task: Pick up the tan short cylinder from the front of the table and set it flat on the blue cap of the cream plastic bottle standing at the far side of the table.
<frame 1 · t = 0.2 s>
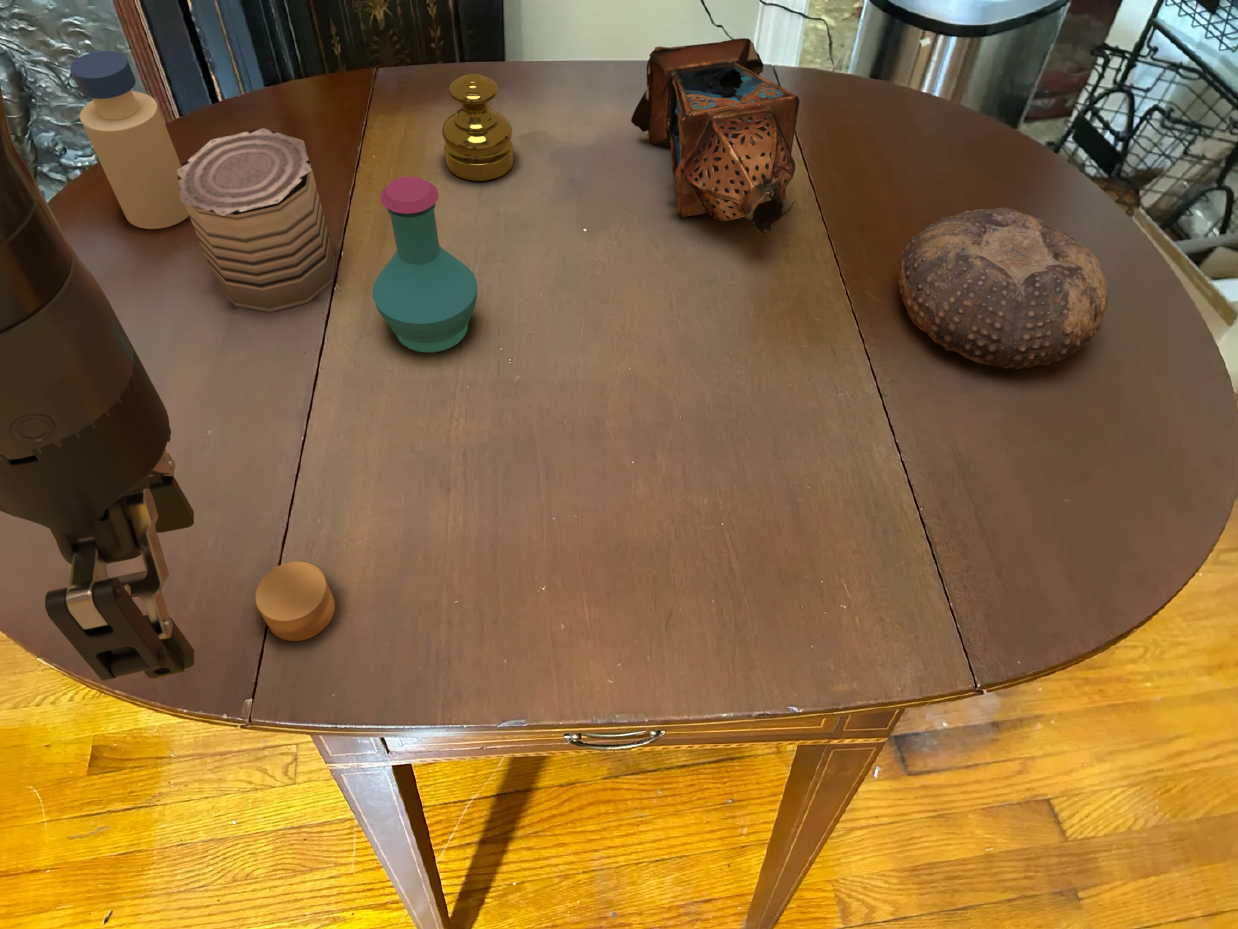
hand: (174, 591, 47), 17 cm above the table, tool pointing down, fingers open, 8 cm apart
tan short cylinder: (301, 611, 66), on the table
perfume bottle: (432, 328, 85), on the table
brass weight: (480, 164, 101), on the table
sea urchin shell: (985, 315, 89), on the table
cream bottle: (160, 208, 94), on the table
lantern: (716, 195, 99), on the table
can: (278, 274, 88), on the table
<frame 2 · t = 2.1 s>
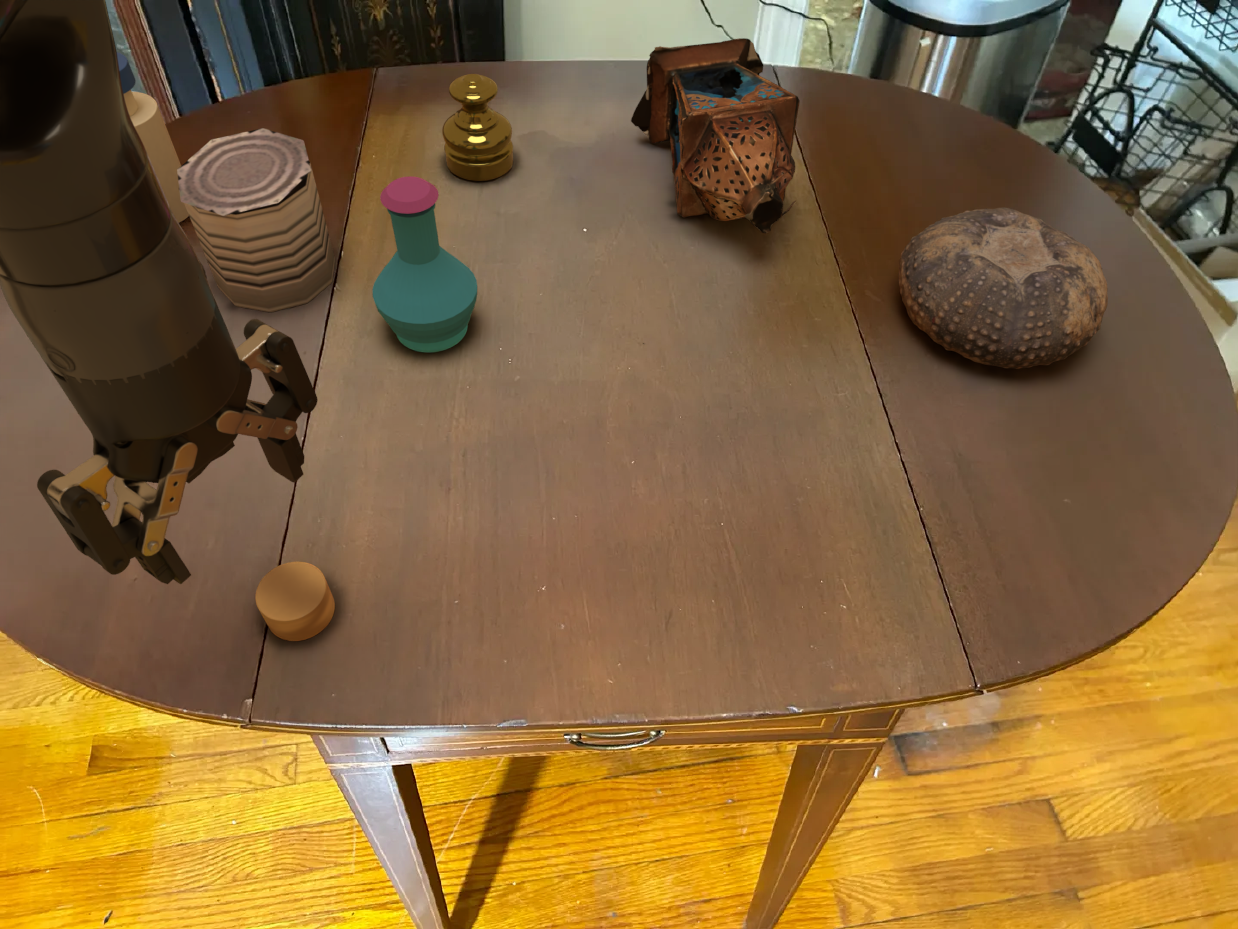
hand: (233, 521, 53), 15 cm above the table, tool pointing down, fingers open, 8 cm apart
nothing on the table moved.
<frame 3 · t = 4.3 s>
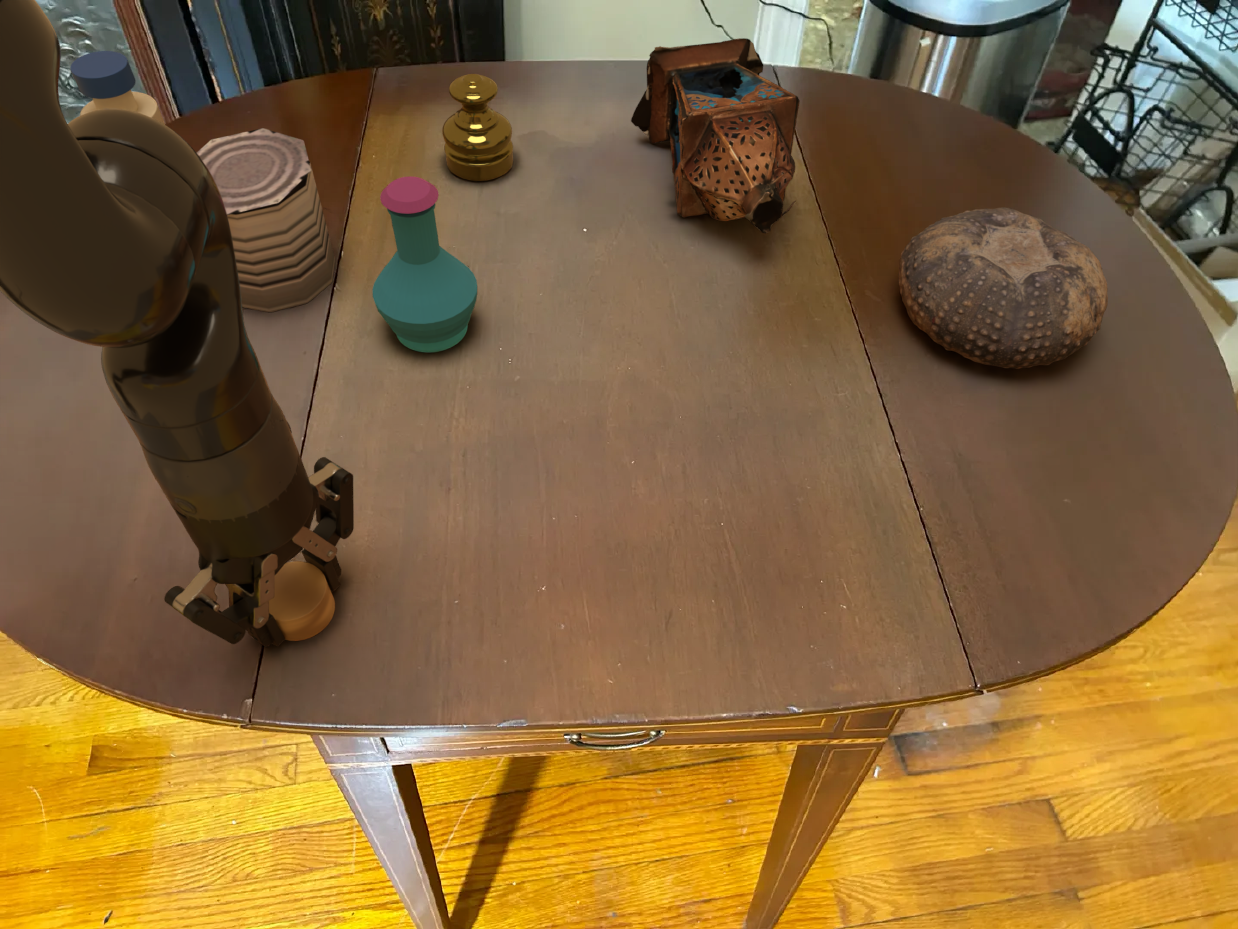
hand: (299, 608, 65), 0 cm above the table, tool pointing down, fingers closed on tan short cylinder, 4 cm apart
tan short cylinder: (301, 611, 66), on the table, touching gripper
everything else where it was.
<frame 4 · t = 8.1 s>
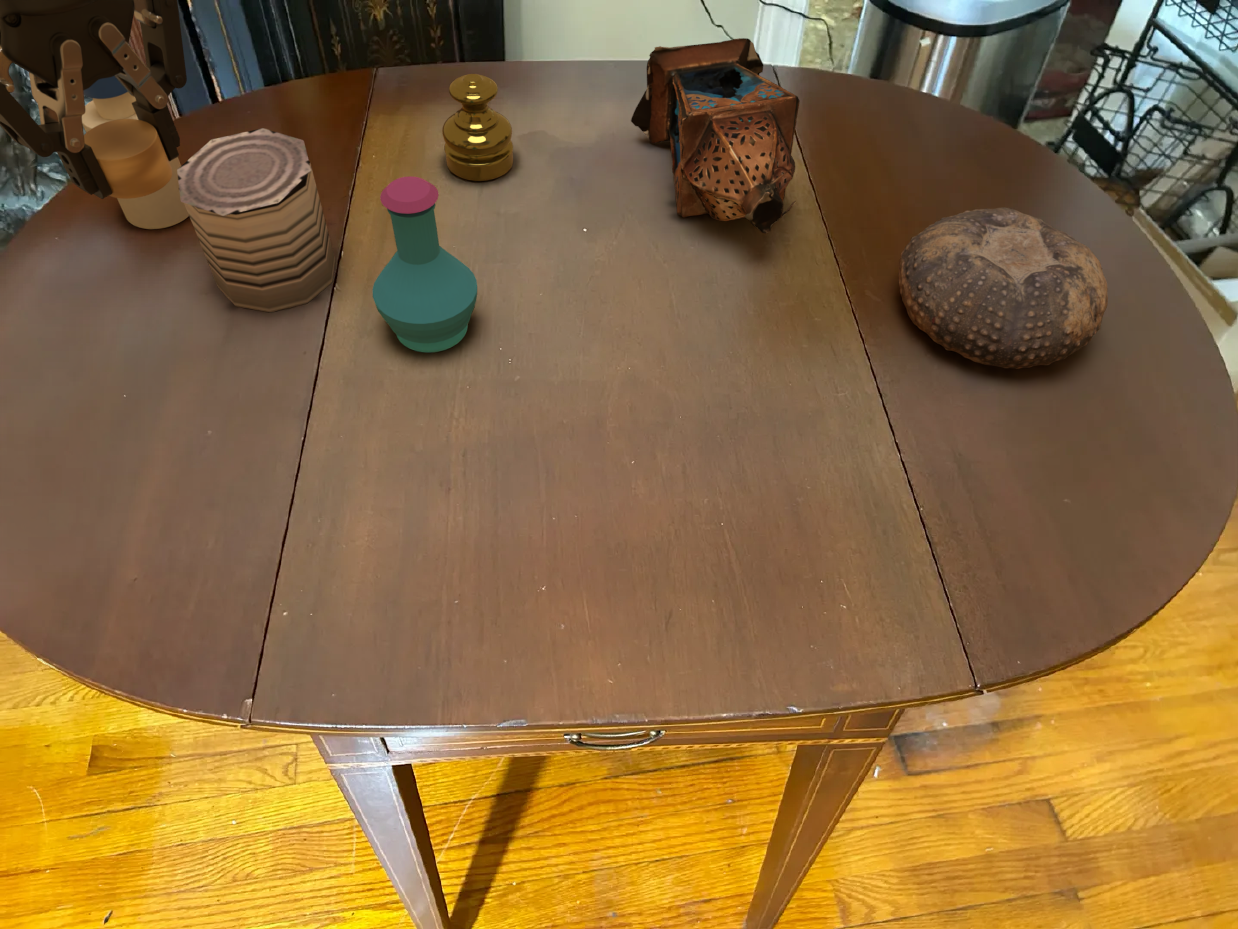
hand: (132, 172, 62), 21 cm above the table, tool pointing down, fingers closed on tan short cylinder, 4 cm apart
tan short cylinder: (135, 177, 62), point 21 cm above the table, touching gripper
everything else where it was.
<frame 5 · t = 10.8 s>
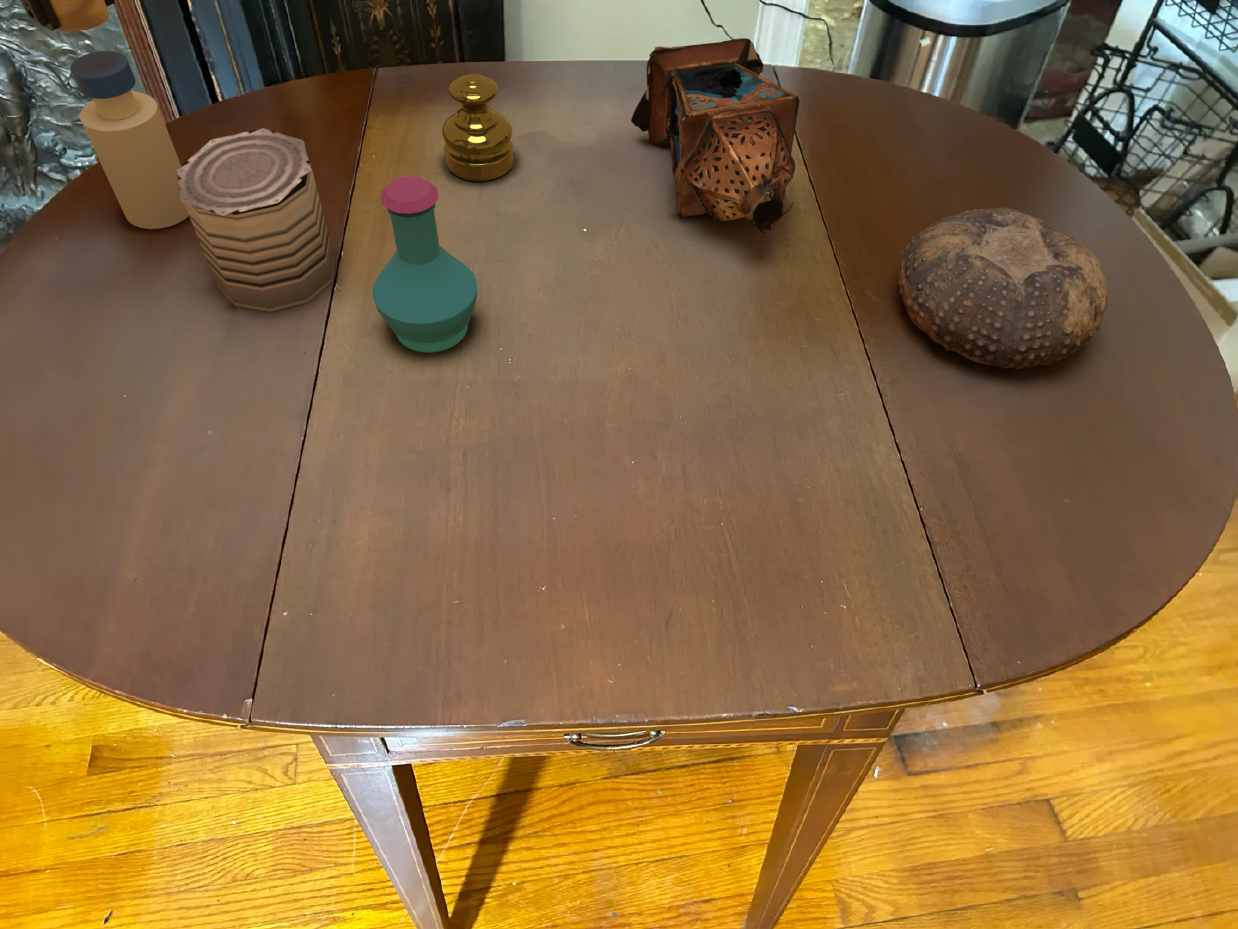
hand: (77, 13, 78), 20 cm above the table, tool pointing down, fingers closed on tan short cylinder, 4 cm apart
tan short cylinder: (79, 17, 78), point 20 cm above the table, touching gripper
everything else where it was.
when the fingers open (16 cm above the table, at t = 12.3 s): tan short cylinder stays where it is, resting on cream bottle.
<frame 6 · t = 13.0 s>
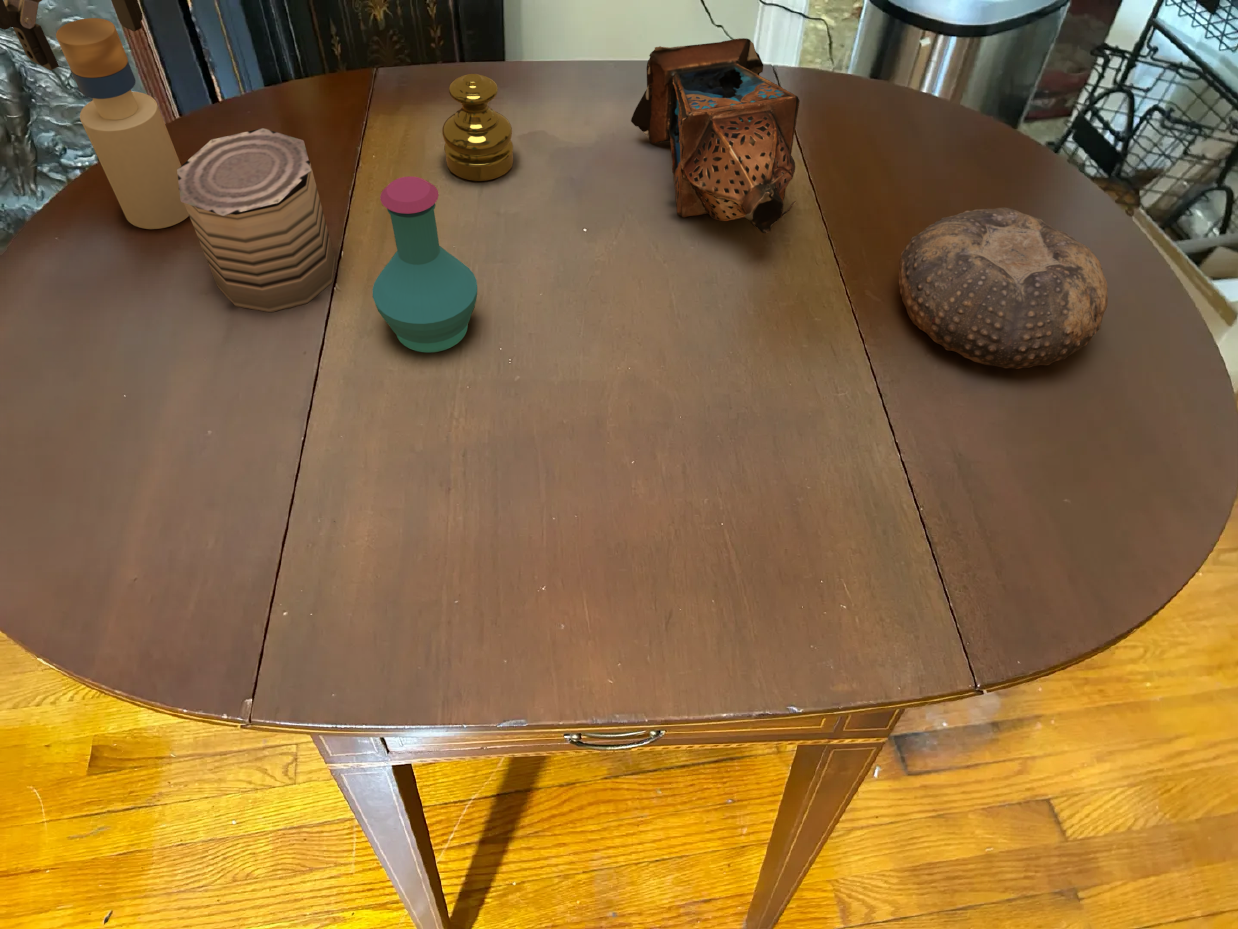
hand: (91, 46, 80), 17 cm above the table, tool pointing down, fingers open, 8 cm apart
tan short cylinder: (99, 63, 81), point 15 cm above the table, touching cream bottle
everything else where it was.
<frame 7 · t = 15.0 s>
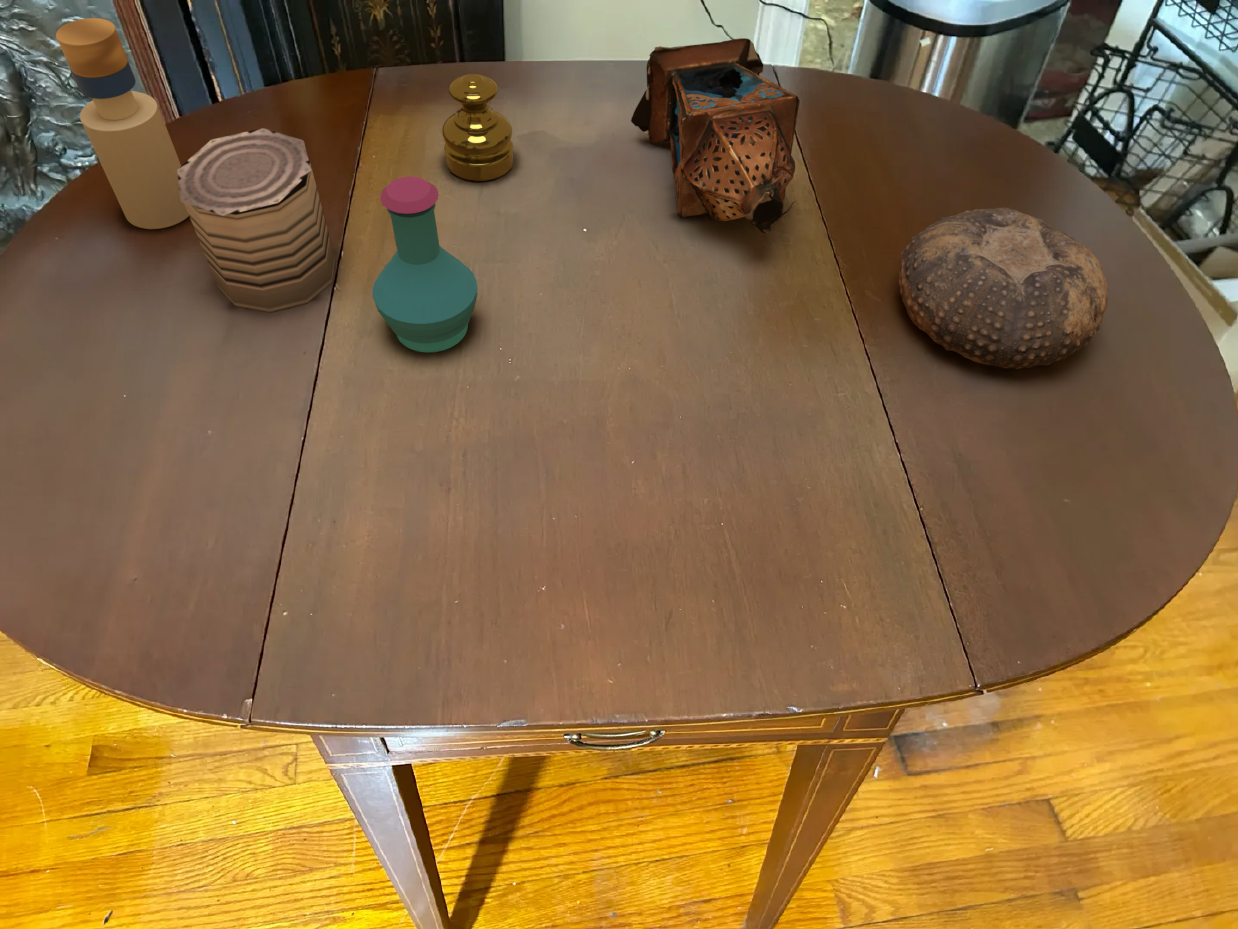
nothing on the table moved.
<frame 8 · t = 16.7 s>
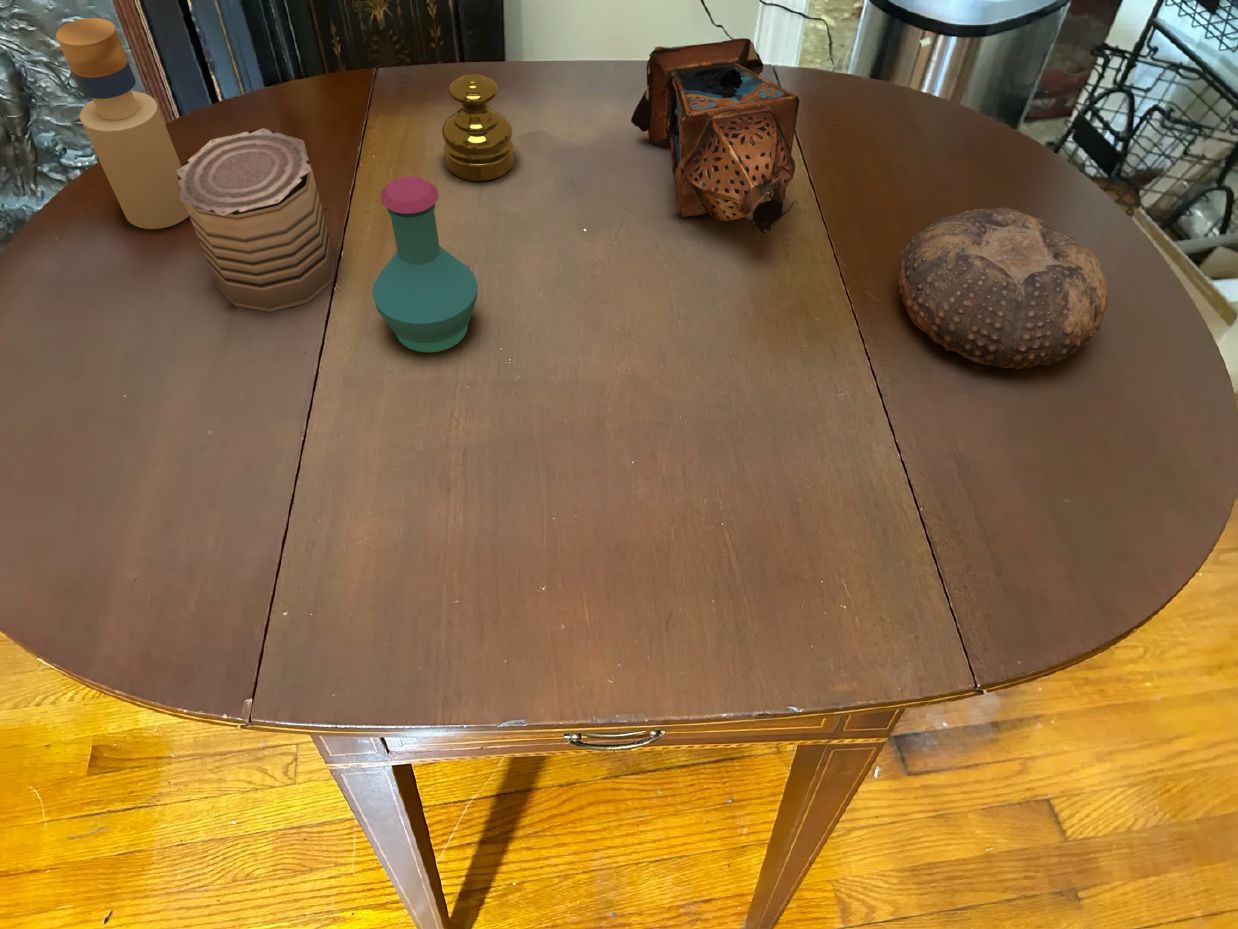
nothing on the table moved.
at the end: tan short cylinder 0.1 cm off-centre on the cream bottle, point 15.5 cm above the cream bottle's base; tan short cylinder tilted 0°; the gripper is holding nothing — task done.
